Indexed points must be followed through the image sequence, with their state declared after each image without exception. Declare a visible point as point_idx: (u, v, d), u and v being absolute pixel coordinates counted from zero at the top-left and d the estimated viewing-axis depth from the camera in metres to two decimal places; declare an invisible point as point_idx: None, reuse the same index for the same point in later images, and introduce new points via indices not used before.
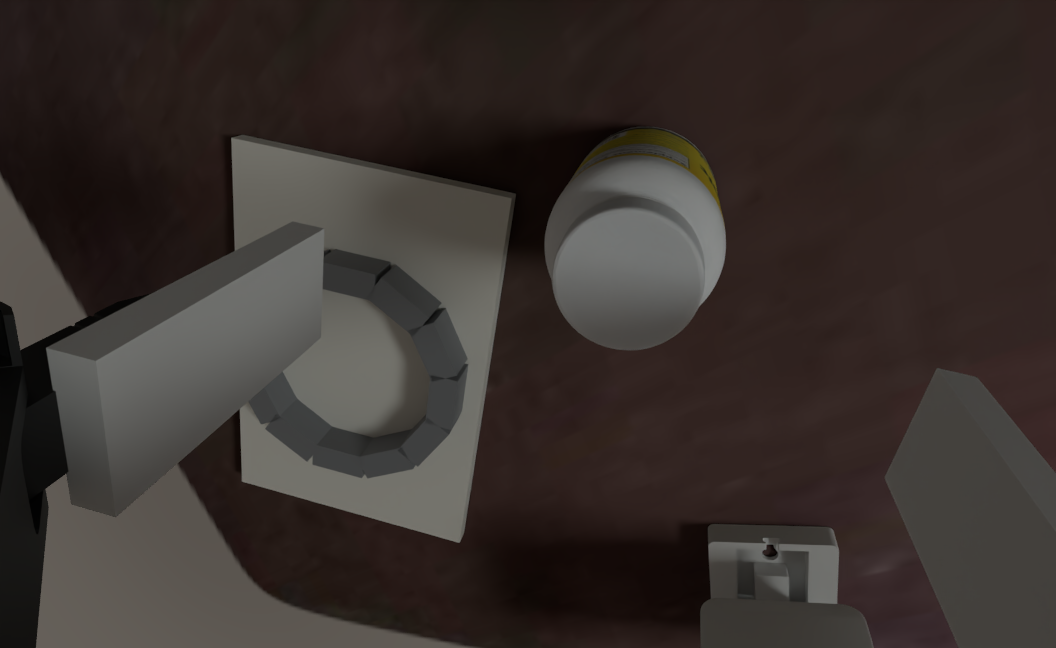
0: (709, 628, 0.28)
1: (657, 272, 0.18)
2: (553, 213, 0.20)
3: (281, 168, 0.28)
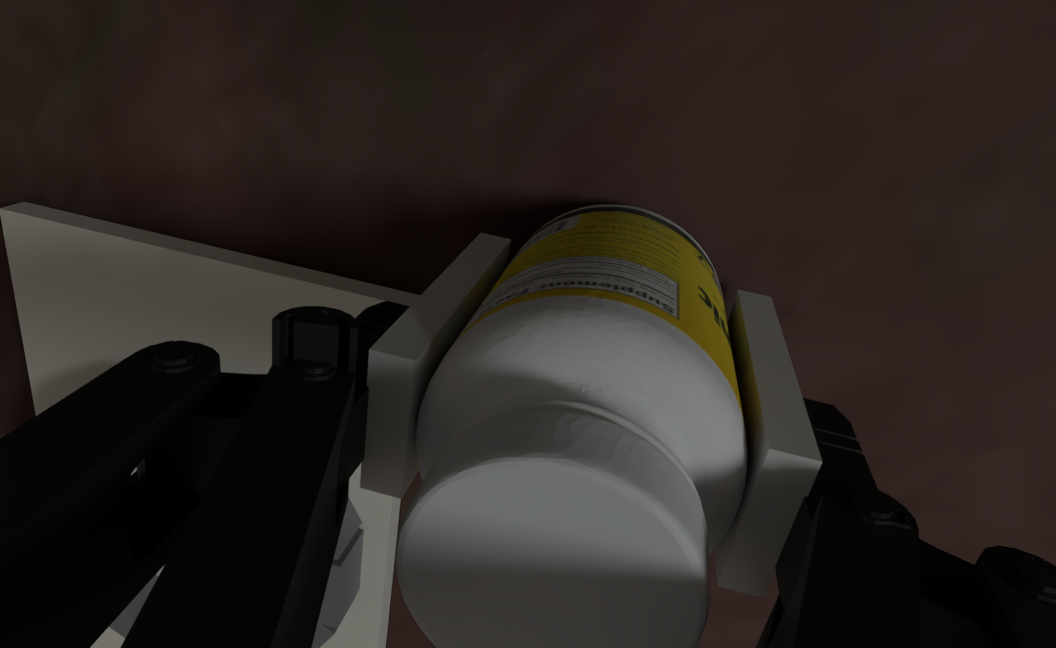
0: None
1: (608, 582, 0.08)
2: (425, 398, 0.11)
3: (74, 253, 0.19)
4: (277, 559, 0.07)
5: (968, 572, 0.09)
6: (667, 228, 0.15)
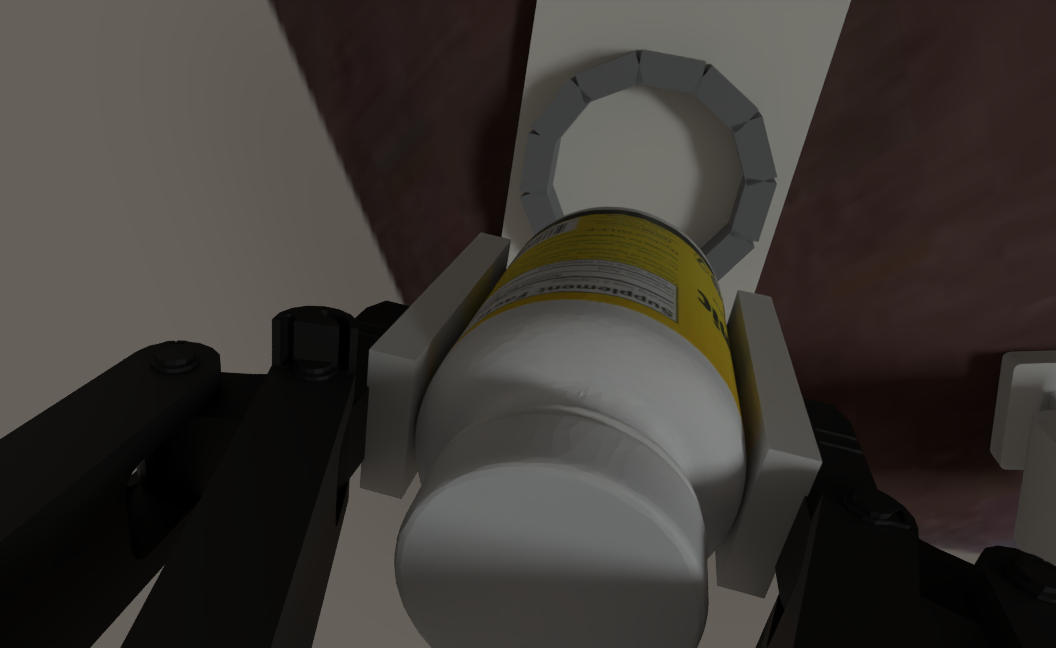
0: (1055, 432, 0.27)
1: (607, 586, 0.08)
2: (424, 401, 0.11)
3: None
4: (277, 559, 0.07)
5: (968, 572, 0.09)
6: (667, 231, 0.15)
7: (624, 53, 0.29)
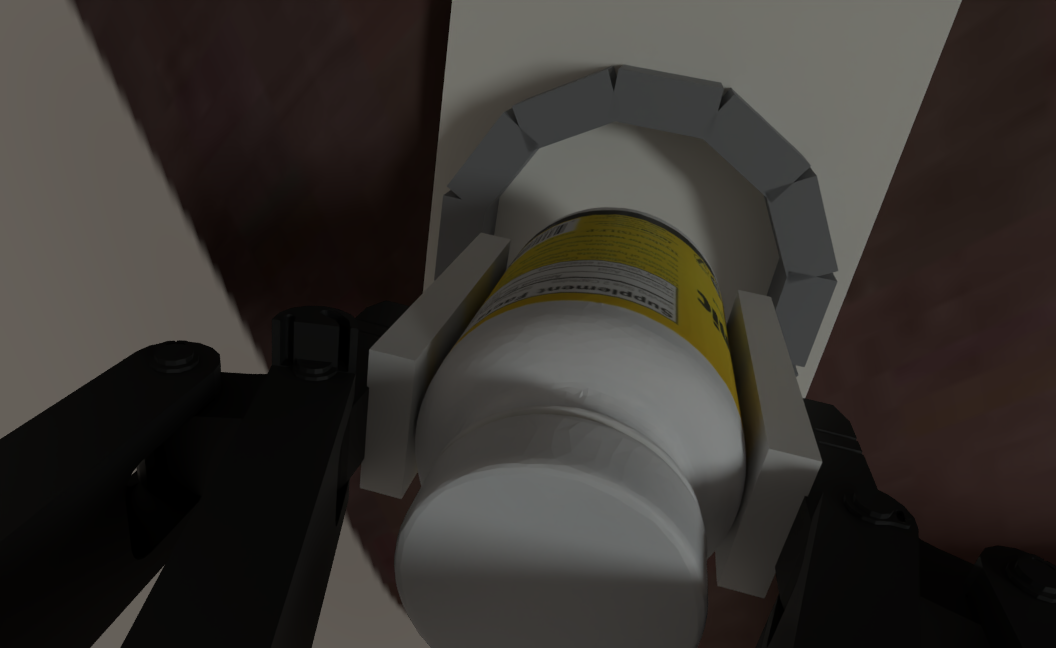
0: None
1: (606, 587, 0.08)
2: (424, 402, 0.11)
3: None
4: (277, 559, 0.07)
5: (968, 572, 0.09)
6: (666, 231, 0.15)
7: (592, 70, 0.18)
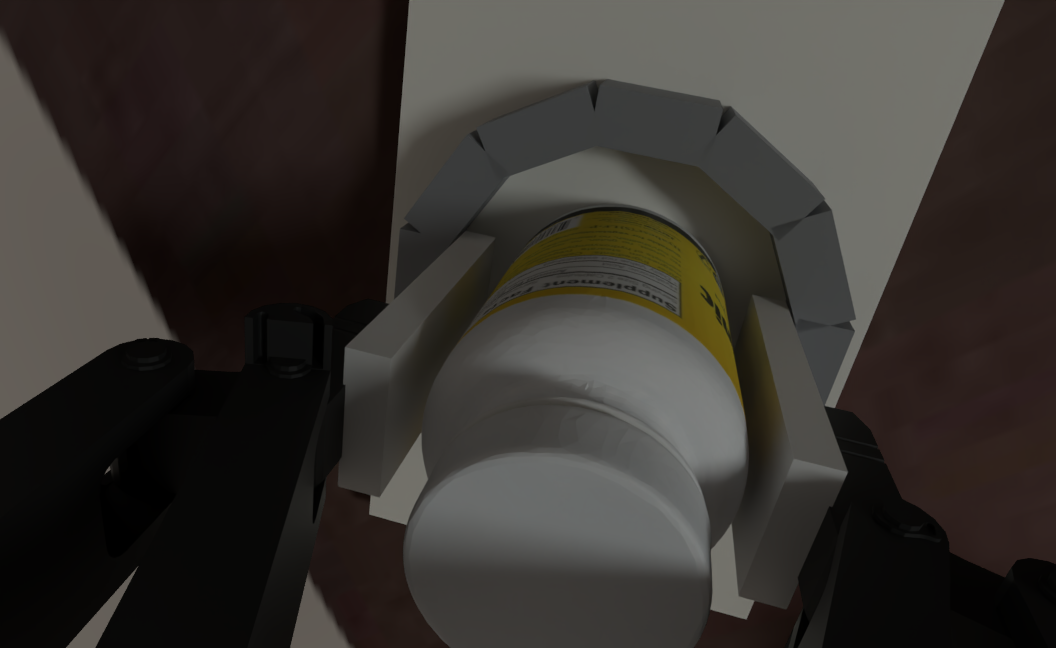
0: None
1: (612, 575, 0.08)
2: (431, 395, 0.11)
3: None
4: (255, 557, 0.07)
5: (999, 584, 0.09)
6: (669, 228, 0.15)
7: (571, 85, 0.16)
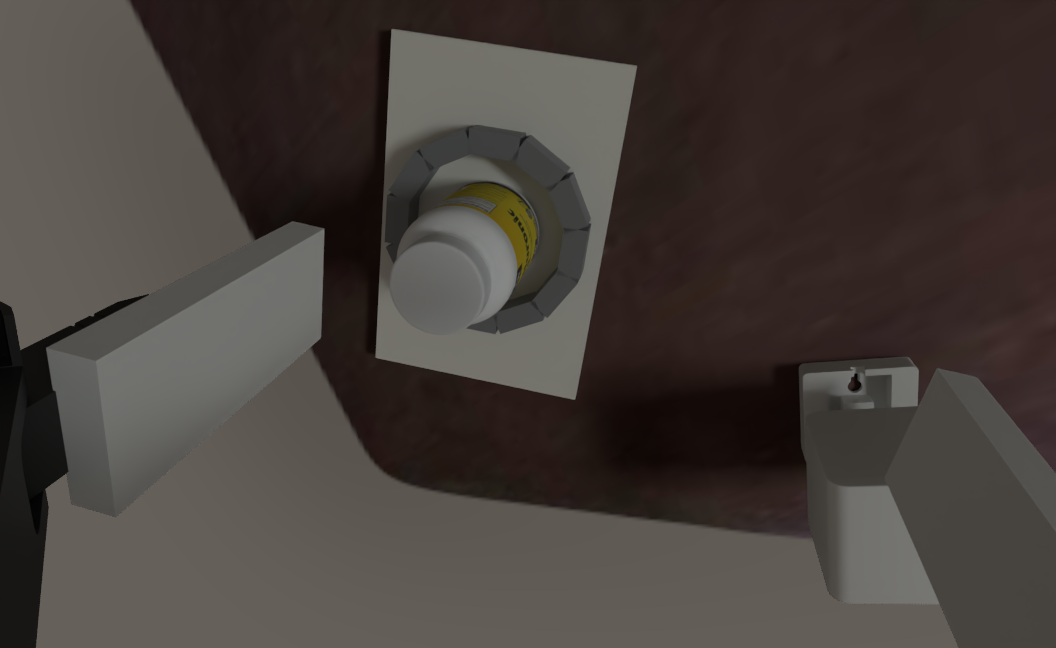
0: (816, 429, 0.32)
1: (453, 283, 0.27)
2: (399, 246, 0.30)
3: (434, 53, 0.34)
4: None
5: None
6: (506, 189, 0.34)
7: (462, 128, 0.35)
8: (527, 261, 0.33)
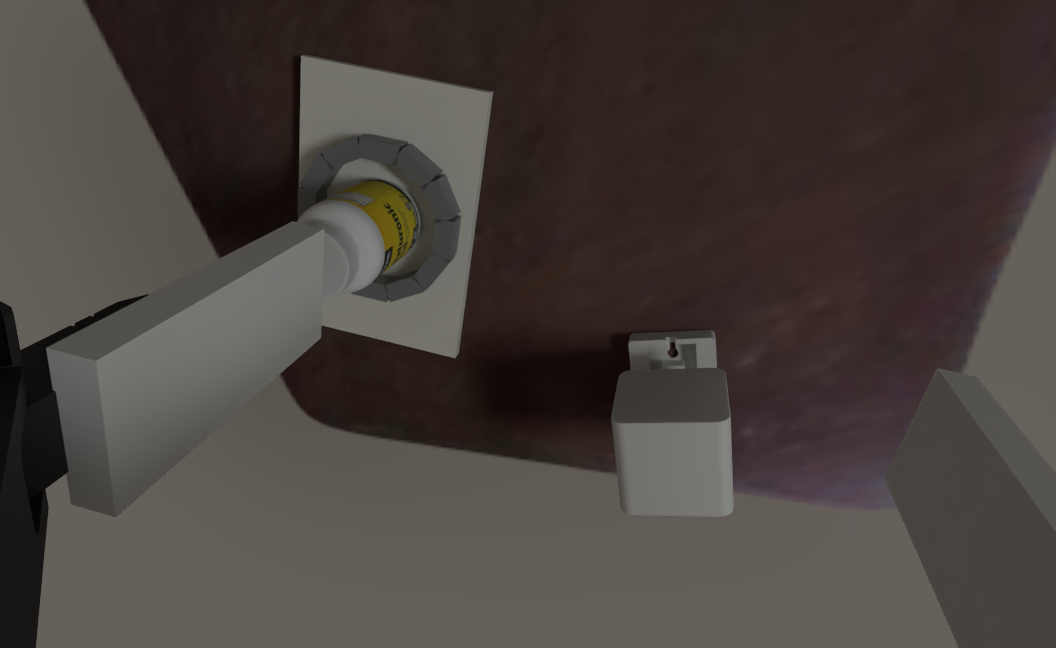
0: (623, 383, 0.41)
1: (326, 259, 0.36)
2: None
3: (334, 76, 0.42)
4: None
5: None
6: (390, 186, 0.43)
7: (358, 135, 0.43)
8: (402, 244, 0.42)
